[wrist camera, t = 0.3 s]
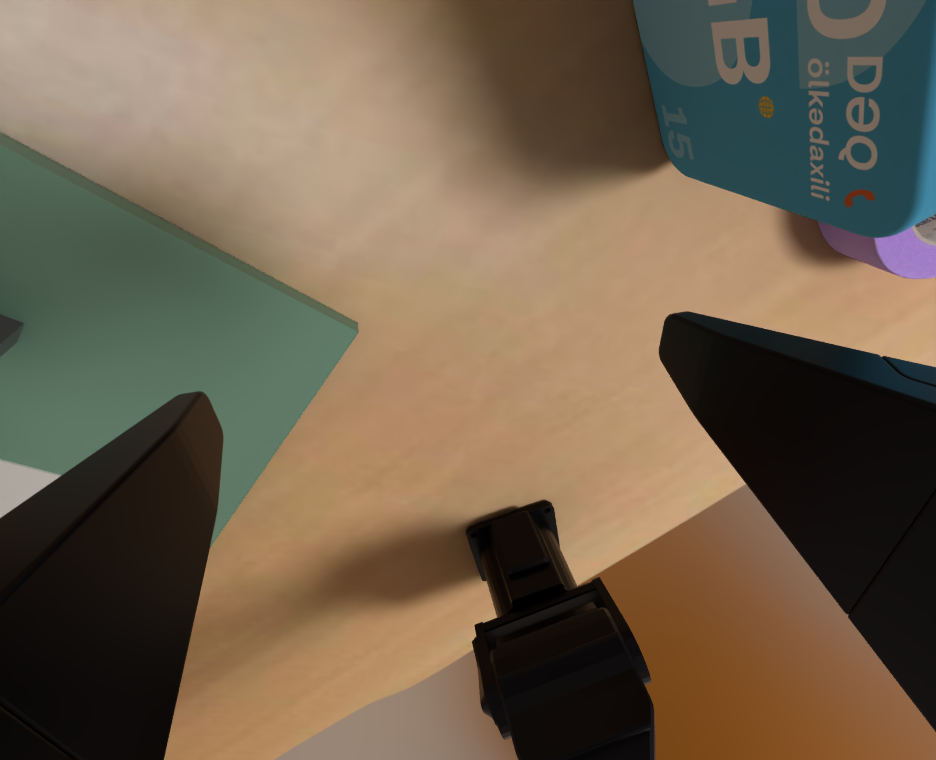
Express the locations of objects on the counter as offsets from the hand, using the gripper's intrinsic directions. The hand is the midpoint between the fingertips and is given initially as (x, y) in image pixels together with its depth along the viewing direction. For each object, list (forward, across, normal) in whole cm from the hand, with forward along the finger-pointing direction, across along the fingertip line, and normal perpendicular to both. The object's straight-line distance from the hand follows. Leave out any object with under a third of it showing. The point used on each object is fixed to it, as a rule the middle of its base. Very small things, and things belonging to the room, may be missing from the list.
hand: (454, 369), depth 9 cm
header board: (+14, +16, +7) cm, 22 cm away
